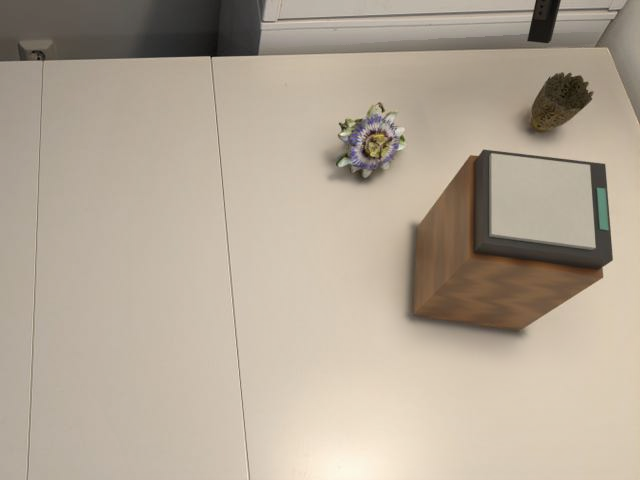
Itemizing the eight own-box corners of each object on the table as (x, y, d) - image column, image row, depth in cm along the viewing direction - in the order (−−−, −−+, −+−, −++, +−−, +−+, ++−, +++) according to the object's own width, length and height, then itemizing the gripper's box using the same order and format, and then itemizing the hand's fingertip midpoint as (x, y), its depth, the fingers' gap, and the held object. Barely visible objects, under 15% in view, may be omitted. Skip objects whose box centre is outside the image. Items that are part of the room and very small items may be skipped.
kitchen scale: (592, 175, 73) (608, 160, 70) (598, 269, 68) (617, 258, 66) (474, 161, 74) (485, 146, 71) (473, 252, 70) (485, 240, 67)
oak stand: (517, 240, 90) (595, 169, 73) (519, 331, 85) (603, 277, 68) (416, 227, 92) (470, 154, 74) (412, 315, 87) (469, 259, 70)
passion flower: (355, 192, 100) (338, 178, 90) (334, 139, 102) (315, 119, 92) (419, 160, 94) (409, 141, 84) (395, 104, 96) (383, 78, 86)
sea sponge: (511, 110, 98) (539, 74, 91) (552, 105, 98) (583, 68, 91) (525, 144, 96) (554, 110, 88) (567, 139, 96) (600, 104, 88)
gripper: (632, -223, 67) (581, -26, 83) (520, -139, 61) (488, 58, 76) (710, -235, 63) (640, -24, 78) (597, -145, 56) (546, 65, 72)
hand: (565, 17), depth 77 cm, fingers open, 13 cm apart
